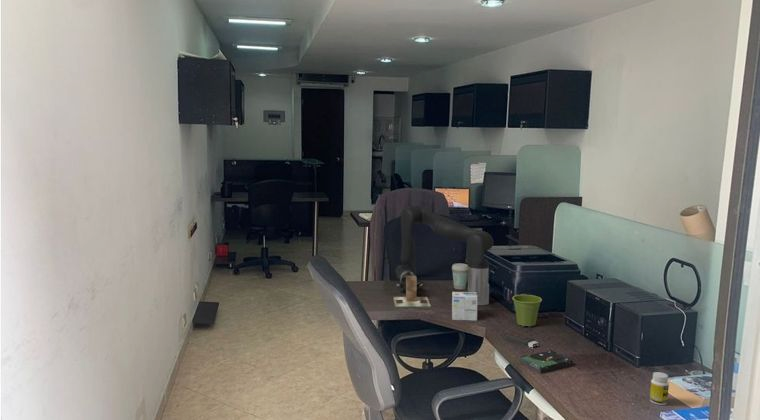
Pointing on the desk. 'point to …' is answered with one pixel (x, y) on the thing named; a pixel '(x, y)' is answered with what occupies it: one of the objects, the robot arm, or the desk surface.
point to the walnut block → (411, 288)
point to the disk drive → (545, 361)
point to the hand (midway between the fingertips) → (410, 289)
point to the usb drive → (521, 339)
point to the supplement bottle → (659, 388)
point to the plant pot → (526, 309)
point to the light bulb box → (464, 306)
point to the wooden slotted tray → (411, 303)
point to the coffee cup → (460, 275)
